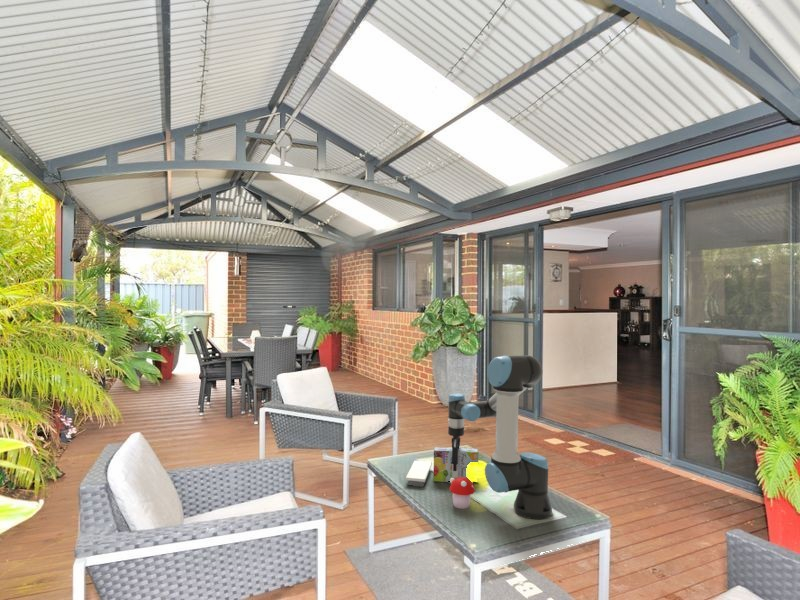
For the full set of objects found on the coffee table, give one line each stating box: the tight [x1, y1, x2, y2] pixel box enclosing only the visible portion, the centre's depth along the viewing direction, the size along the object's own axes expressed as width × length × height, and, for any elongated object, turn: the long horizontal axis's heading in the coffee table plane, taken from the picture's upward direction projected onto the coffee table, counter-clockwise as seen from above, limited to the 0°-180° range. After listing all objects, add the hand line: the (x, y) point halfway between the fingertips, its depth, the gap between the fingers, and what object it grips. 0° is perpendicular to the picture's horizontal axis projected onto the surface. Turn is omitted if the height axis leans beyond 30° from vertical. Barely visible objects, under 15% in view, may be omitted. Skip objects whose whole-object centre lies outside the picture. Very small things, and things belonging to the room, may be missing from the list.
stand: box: [405, 460, 433, 488], centre depth 235 cm, size 24×9×4 cm, turn 169°
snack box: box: [433, 446, 479, 483], centre depth 232 cm, size 21×6×15 cm, turn 84°
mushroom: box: [449, 477, 476, 510], centre depth 204 cm, size 11×11×12 cm
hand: (455, 474), depth 232 cm, fingers closed on snack box, 6 cm apart
